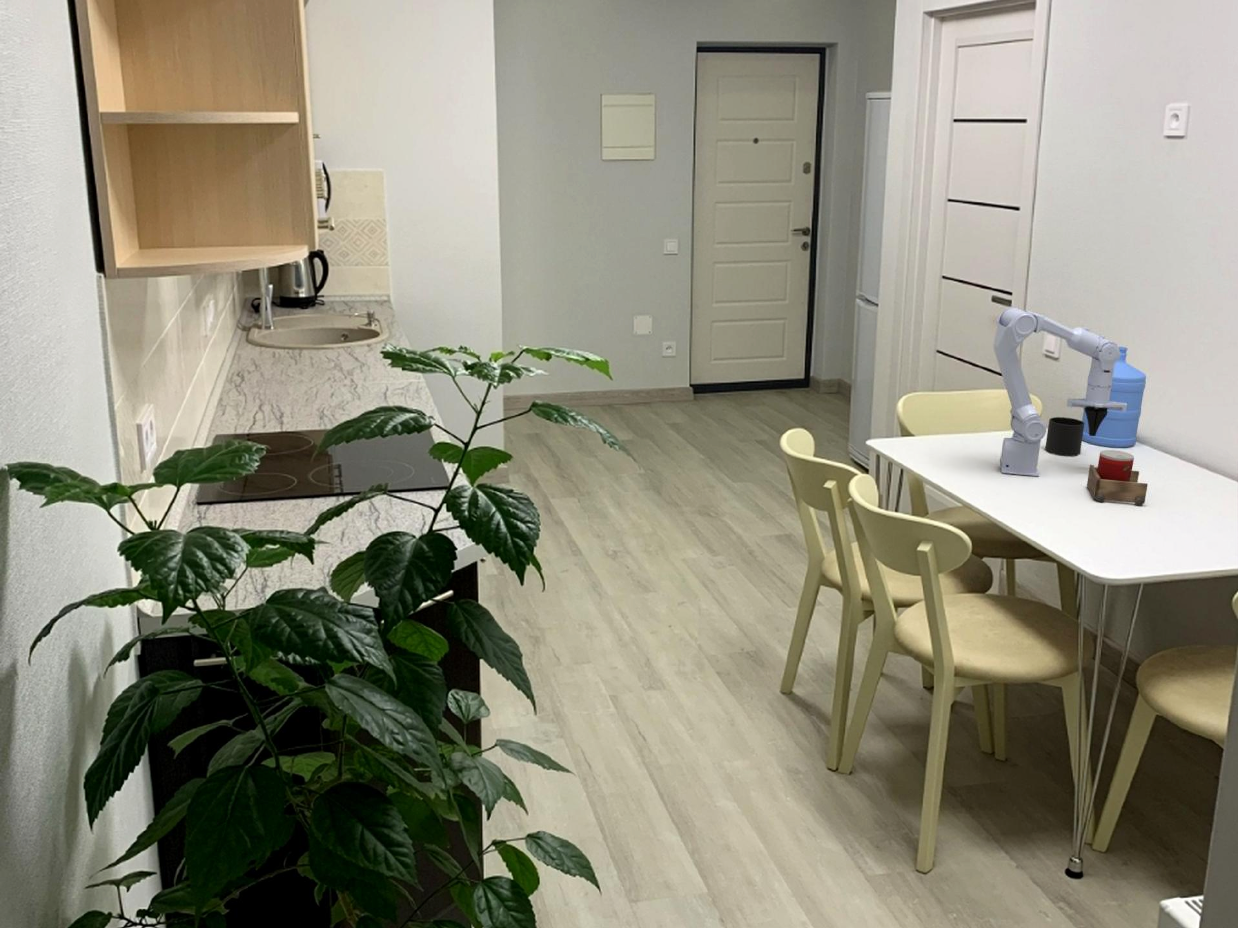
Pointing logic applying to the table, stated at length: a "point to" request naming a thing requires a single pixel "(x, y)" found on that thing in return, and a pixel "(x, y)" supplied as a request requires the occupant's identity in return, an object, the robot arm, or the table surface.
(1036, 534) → the table surface
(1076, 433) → the mug
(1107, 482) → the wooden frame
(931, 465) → the table surface
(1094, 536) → the table surface
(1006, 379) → the robot arm
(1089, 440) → the water jug
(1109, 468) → the canned food
